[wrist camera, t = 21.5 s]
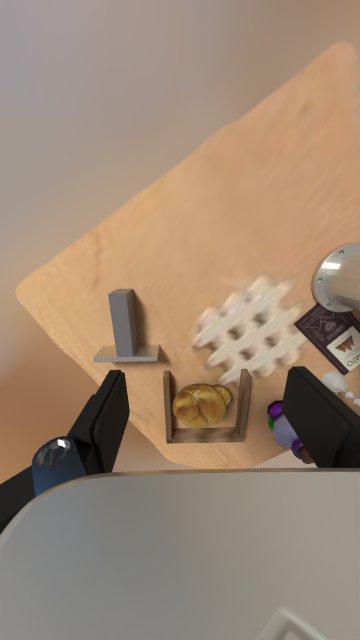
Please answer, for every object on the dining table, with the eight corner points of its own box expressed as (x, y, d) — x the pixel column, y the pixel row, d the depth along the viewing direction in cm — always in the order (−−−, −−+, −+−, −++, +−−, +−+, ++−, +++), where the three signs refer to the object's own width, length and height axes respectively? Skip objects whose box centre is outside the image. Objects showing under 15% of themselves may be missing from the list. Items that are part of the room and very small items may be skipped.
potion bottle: (256, 402, 46) (280, 450, 35) (291, 389, 45) (328, 435, 34) (266, 427, 49) (293, 480, 38) (300, 415, 48) (338, 466, 37)
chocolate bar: (333, 292, 37) (381, 348, 41) (329, 291, 38) (376, 346, 42) (295, 324, 39) (344, 375, 44) (292, 323, 40) (341, 372, 44)
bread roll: (228, 375, 44) (238, 400, 37) (229, 409, 47) (239, 439, 40) (171, 381, 45) (170, 407, 37) (177, 414, 48) (176, 445, 40)
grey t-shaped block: (155, 288, 38) (152, 293, 33) (159, 348, 42) (157, 361, 37) (93, 289, 38) (81, 294, 33) (103, 350, 42) (94, 362, 37)
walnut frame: (246, 369, 43) (251, 377, 41) (240, 431, 49) (243, 441, 47) (164, 370, 43) (163, 379, 41) (167, 432, 49) (166, 443, 47)
